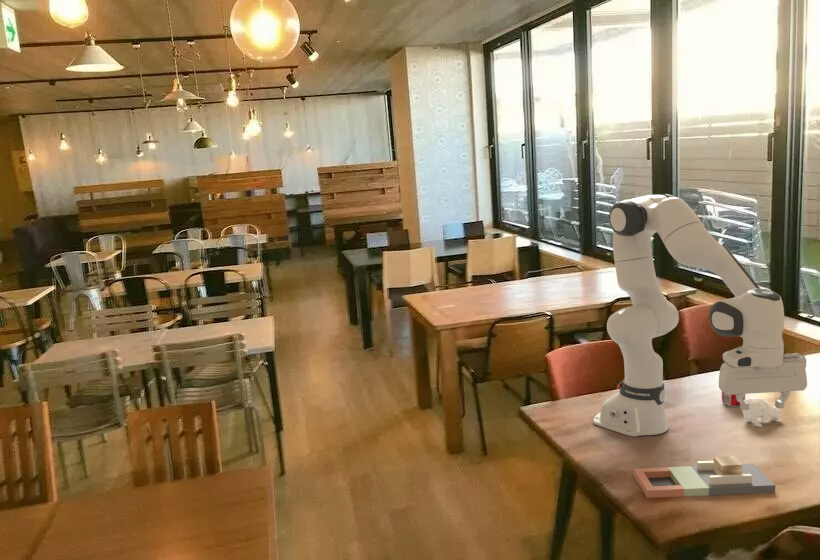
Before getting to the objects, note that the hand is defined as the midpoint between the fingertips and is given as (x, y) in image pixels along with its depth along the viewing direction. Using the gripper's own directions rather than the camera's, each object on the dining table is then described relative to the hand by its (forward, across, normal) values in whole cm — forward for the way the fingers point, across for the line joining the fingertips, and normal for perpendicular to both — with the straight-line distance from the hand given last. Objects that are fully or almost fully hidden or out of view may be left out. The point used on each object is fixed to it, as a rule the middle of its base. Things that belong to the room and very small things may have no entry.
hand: (762, 408), depth 169 cm
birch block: (+18, +8, 0) cm, 19 cm away
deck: (+19, +15, 0) cm, 24 cm away
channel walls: (+17, +9, 0) cm, 20 cm away
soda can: (+20, -16, -53) cm, 59 cm away
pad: (+19, +18, 0) cm, 27 cm away
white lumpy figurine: (+20, -18, -37) cm, 45 cm away
